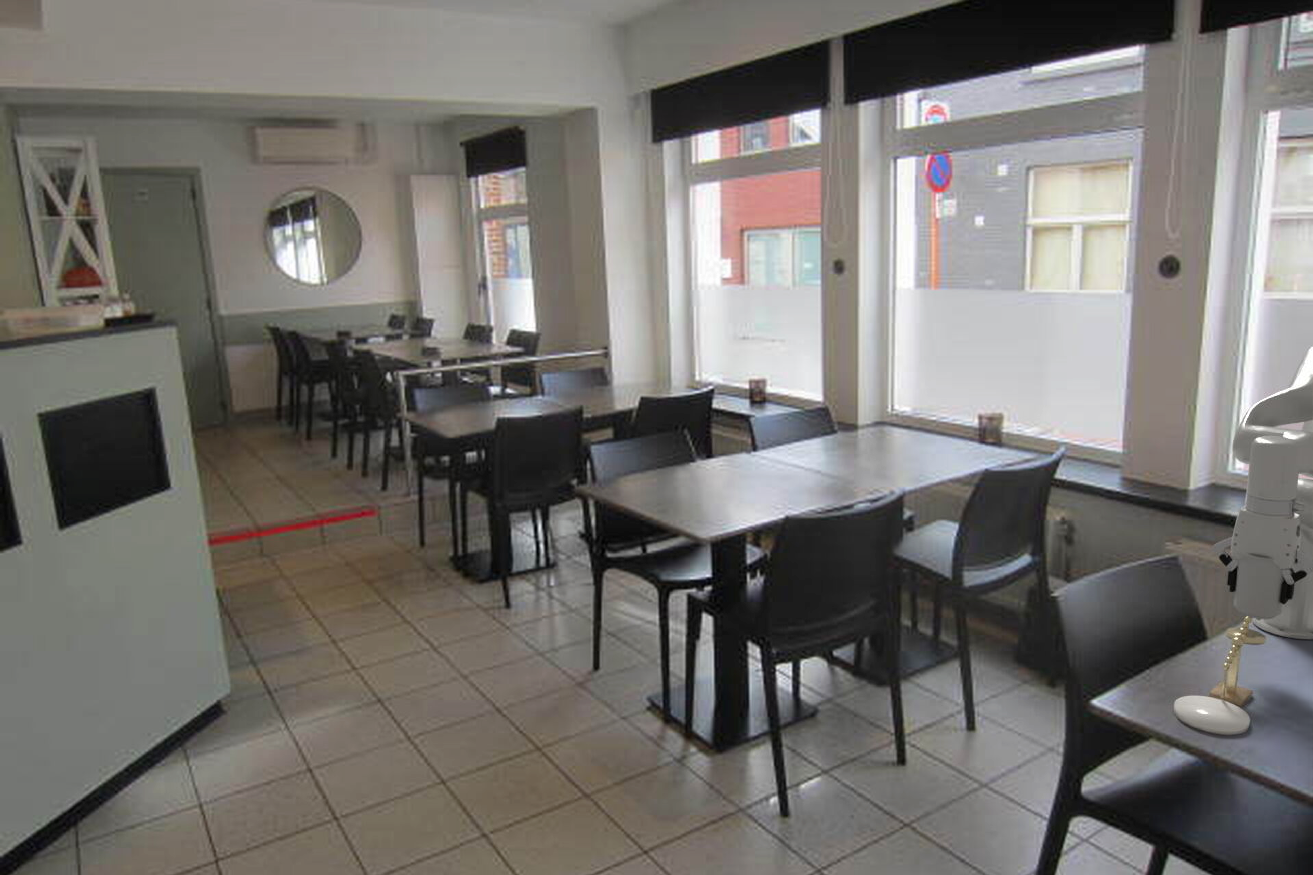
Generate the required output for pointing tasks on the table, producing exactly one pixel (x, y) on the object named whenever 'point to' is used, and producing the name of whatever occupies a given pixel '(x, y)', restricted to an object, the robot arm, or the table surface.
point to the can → (1258, 587)
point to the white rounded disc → (1211, 715)
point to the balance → (1236, 665)
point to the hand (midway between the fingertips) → (1258, 595)
